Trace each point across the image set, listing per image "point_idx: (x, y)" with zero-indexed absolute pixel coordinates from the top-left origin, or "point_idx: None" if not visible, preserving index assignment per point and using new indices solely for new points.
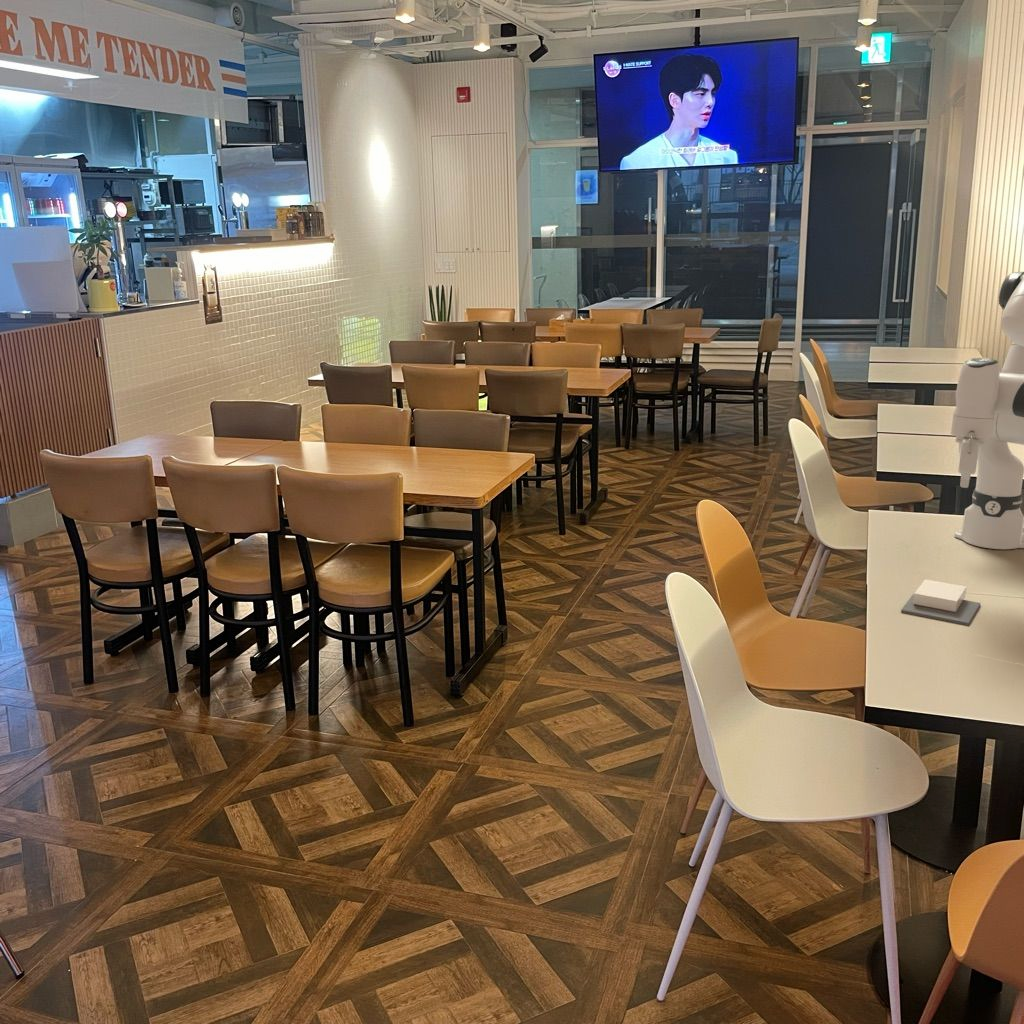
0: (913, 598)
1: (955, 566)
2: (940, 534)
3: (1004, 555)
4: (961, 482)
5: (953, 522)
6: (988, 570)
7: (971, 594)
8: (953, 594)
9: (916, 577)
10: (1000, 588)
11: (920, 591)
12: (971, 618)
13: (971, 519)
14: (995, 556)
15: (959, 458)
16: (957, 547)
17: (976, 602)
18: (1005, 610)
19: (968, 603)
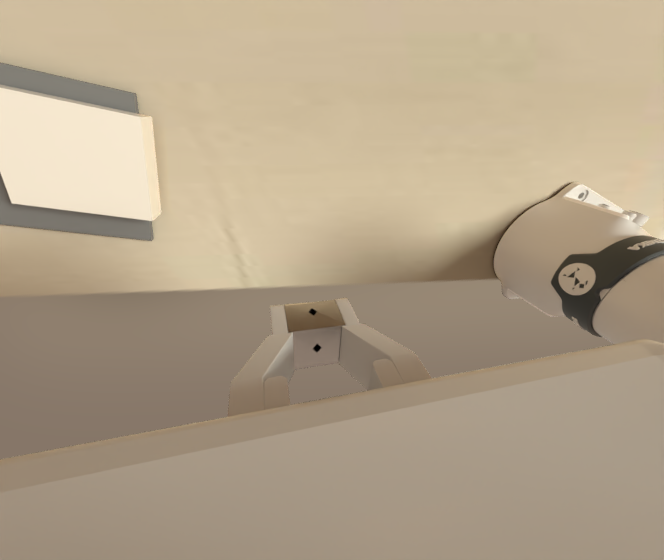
0: (60, 85)
1: (387, 187)
2: (592, 153)
3: (466, 265)
4: (272, 325)
5: (660, 179)
6: (379, 245)
7: (220, 221)
8: (61, 194)
9: (277, 96)
10: (284, 266)
11: (6, 102)
12: (33, 227)
13: (581, 224)
14: (459, 253)
15: (367, 489)
16: (508, 189)
17: (149, 233)
18: (162, 277)
19: (129, 219)
